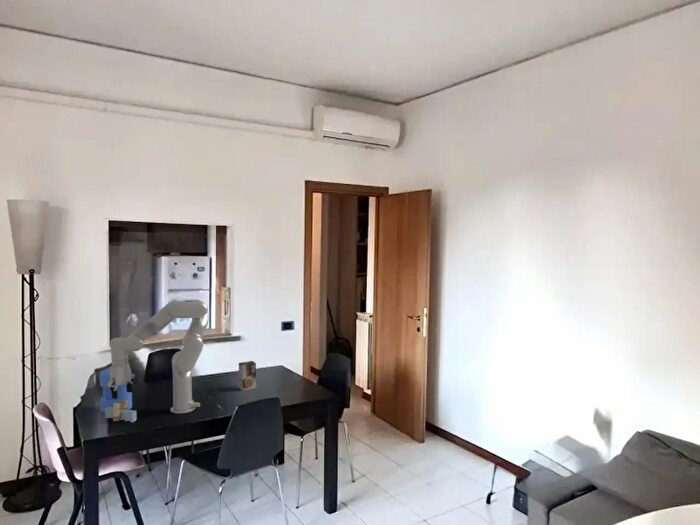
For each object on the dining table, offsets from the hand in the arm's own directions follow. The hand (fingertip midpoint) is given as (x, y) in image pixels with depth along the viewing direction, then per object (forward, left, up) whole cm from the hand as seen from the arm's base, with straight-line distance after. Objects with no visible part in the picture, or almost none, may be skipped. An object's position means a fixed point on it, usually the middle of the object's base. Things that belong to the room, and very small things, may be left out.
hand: (122, 395), depth 258 cm
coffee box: (-57, -49, -13) cm, 76 cm away
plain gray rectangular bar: (+1, 0, -12) cm, 12 cm away
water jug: (+9, -16, -13) cm, 22 cm away
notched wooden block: (+1, 0, -12) cm, 12 cm away
